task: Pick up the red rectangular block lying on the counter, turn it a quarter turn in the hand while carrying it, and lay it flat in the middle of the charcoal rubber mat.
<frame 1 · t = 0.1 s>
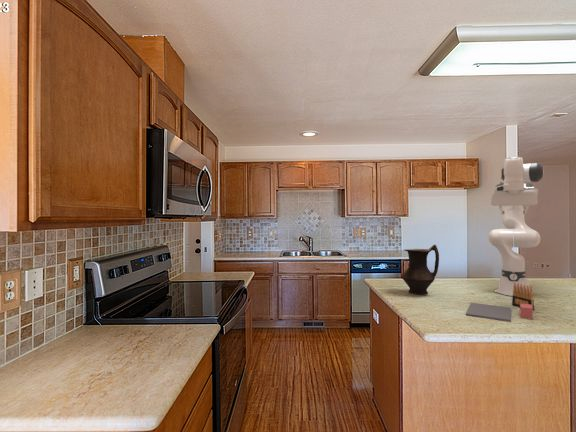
hand: (513, 214, 178), 48 cm above the table, tool pointing down, fingers open, 8 cm apart
jug: (419, 294, 206), on the table
ammunition clip: (522, 307, 176), on the table
mat: (489, 312, 168), on the table
red rectangular block: (526, 316, 161), on the table
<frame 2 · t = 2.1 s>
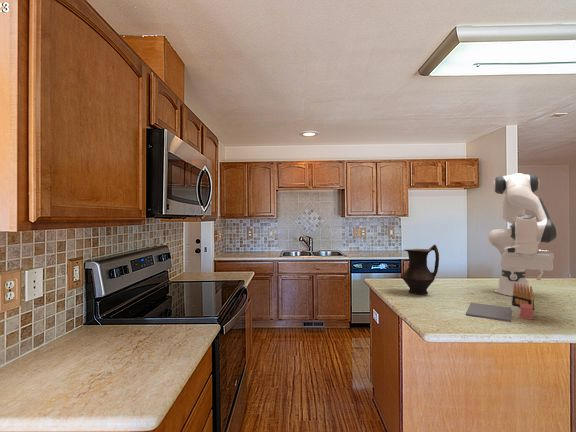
hand: (526, 278, 161), 18 cm above the table, tool pointing down, fingers open, 8 cm apart
nothing on the table moved.
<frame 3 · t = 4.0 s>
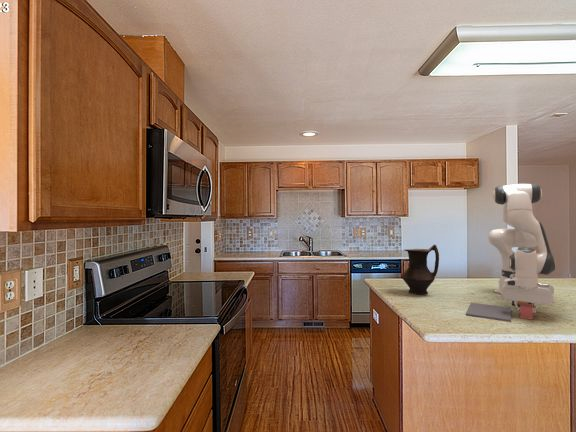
hand: (526, 311, 161), 2 cm above the table, tool pointing down, fingers closed on red rectangular block, 4 cm apart
red rectangular block: (526, 316, 161), on the table, touching gripper
everything else where it was.
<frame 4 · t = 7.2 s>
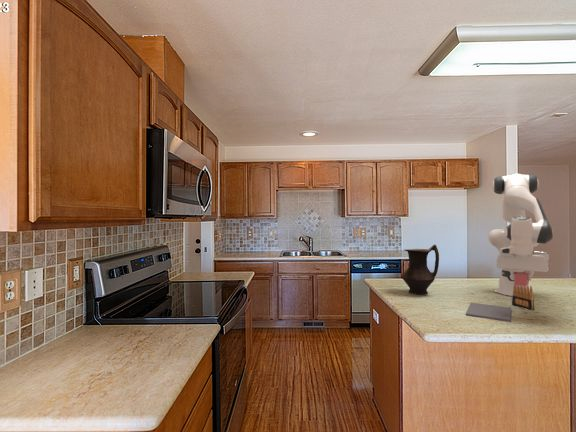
hand: (521, 279, 162), 17 cm above the table, tool pointing down, fingers closed on red rectangular block, 4 cm apart
red rectangular block: (521, 284, 162), point 15 cm above the table, touching gripper
everything else where it was.
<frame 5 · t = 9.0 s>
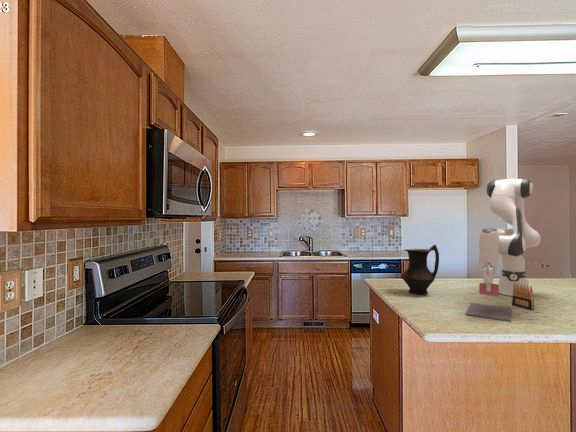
hand: (489, 290, 168), 11 cm above the table, tool pointing down, fingers closed on red rectangular block, 4 cm apart
red rectangular block: (489, 294, 168), point 9 cm above the table, touching gripper
everything else where it was.
when the fingers open (4 cm above the table, at t = 10.6 s): red rectangular block stays where it is, resting on mat.
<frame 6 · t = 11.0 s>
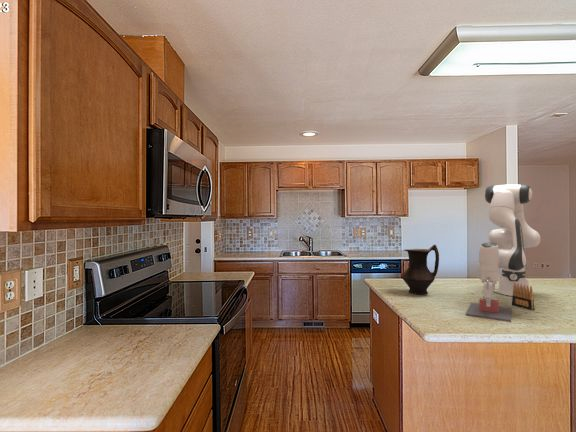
hand: (489, 304, 168), 4 cm above the table, tool pointing down, fingers open, 8 cm apart
red rectangular block: (489, 310, 168), point 1 cm above the table, touching mat
everything else where it was.
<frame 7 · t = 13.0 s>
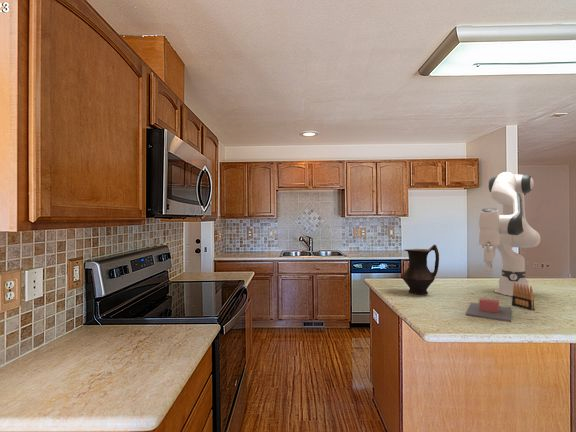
hand: (489, 269, 168), 21 cm above the table, tool pointing down, fingers open, 8 cm apart
nothing on the table moved.
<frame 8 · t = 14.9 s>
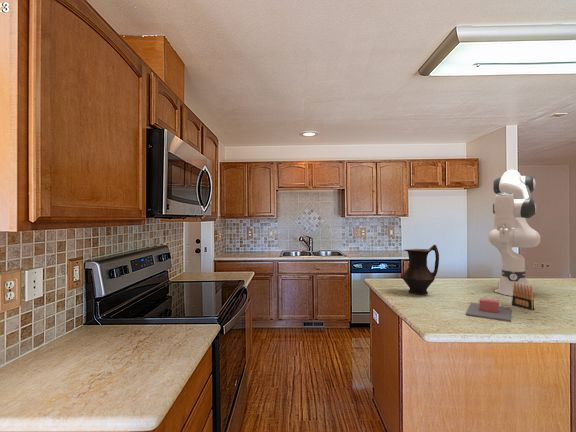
hand: (504, 251, 174), 29 cm above the table, tool pointing down, fingers open, 8 cm apart
nothing on the table moved.
at the end: red rectangular block inside the target area on the mat (0.1 cm from its centre), point 0.8 cm above the mat's base; red rectangular block tilted 0°; the gripper is holding nothing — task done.
